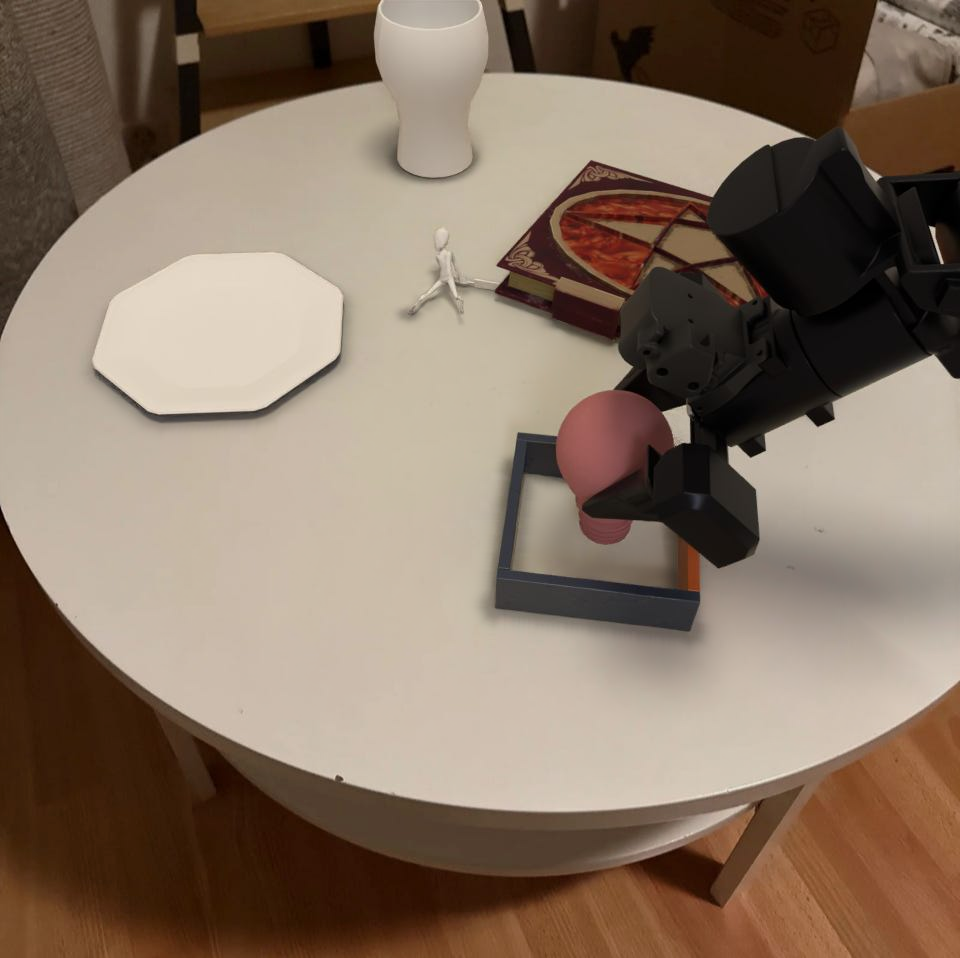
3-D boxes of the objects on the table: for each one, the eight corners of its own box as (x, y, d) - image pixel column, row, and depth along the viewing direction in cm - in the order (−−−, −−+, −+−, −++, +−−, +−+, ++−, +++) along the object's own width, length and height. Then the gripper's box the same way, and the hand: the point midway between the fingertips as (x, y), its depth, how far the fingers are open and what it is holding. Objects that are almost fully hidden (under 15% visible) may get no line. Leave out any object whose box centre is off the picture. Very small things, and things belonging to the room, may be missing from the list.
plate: (203, 464, 68) (198, 451, 67) (56, 344, 77) (49, 330, 75) (392, 333, 78) (391, 319, 77) (242, 239, 86) (239, 225, 85)
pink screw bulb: (568, 586, 60) (583, 464, 51) (535, 503, 64) (543, 377, 55) (670, 562, 61) (703, 439, 52) (631, 482, 65) (654, 356, 56)
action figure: (546, 342, 78) (562, 276, 82) (543, 301, 74) (560, 233, 77) (412, 328, 81) (432, 264, 84) (400, 287, 76) (422, 222, 79)
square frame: (687, 482, 67) (696, 450, 64) (690, 632, 59) (700, 602, 56) (515, 464, 68) (517, 431, 65) (494, 608, 60) (495, 578, 57)
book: (874, 277, 84) (895, 229, 80) (814, 419, 71) (835, 371, 67) (588, 187, 92) (595, 140, 88) (489, 300, 79) (492, 251, 76)
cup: (497, 179, 92) (501, 26, 81) (392, 192, 91) (381, 38, 79) (473, 125, 99) (474, -23, 87) (375, 137, 97) (363, -13, 86)
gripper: (724, 146, 50) (517, 291, 60) (740, 382, 38) (478, 517, 48) (830, 275, 56) (625, 389, 65) (874, 517, 44) (614, 615, 53)
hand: (589, 465), depth 58 cm, fingers closed on pink screw bulb, 7 cm apart
